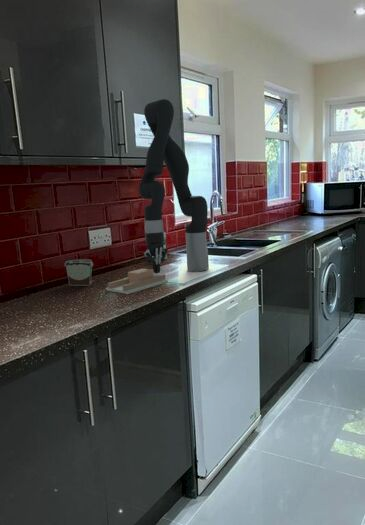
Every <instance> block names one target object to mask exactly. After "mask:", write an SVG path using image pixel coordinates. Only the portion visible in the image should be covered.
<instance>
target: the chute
mask: <svg viewBox="0 0 365 525" xmlns="http://www.w3.org/2000/svg"><path fill="white" fill-rule="evenodd" d="M168 280H169V279H166V274H165V273H162V274H161V273H160V274H158V275H155V276H154V275H153V277H150V278H147V279H143V280H140V281H136V282H133V283H129V282H128V277H125V278H121V279H117V280H115V281H111V282H107V287H106V289H105V290H106V291H109V292H114V293H120V294H126V295H129V294H133V293H137V292H139V291H143V290H146V289H149V288H152V287H157V286H159V285H162V284H166V283H168Z"/></svg>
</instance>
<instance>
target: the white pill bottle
mask: <svg viewBox="0 0 365 525" xmlns="http://www.w3.org/2000/svg"><path fill="white" fill-rule="evenodd" d="M163 245H164V248H165V249H168V248H167V234H166V231H164V242H163ZM158 256H159V255H158ZM161 258H162V257H161ZM167 259H168V252H167V253H166V256H165V258H164V260H167Z"/></svg>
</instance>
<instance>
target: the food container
mask: <svg viewBox="0 0 365 525" xmlns="http://www.w3.org/2000/svg"><path fill="white" fill-rule="evenodd" d="M93 266H94V263H93V261H92V259H88V258H84V259H83V258H80V259H79V258H78V259H71V260H66V261H65V262H64V267H66V268H65V270H66V274H67V279H68V285H69V286H78V287H79V286H83V287H86V286H87V287H88V286H92V285H93V284H92V281H93V279H92V277H93V276H92V273H93V271H92V269H93Z"/></svg>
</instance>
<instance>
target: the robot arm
mask: <svg viewBox="0 0 365 525" xmlns="http://www.w3.org/2000/svg"><path fill="white" fill-rule="evenodd" d="M174 109H175V108H174V106H173V103H172V102H171V101H170V100H169V99H167V98H163V99H157V100H155V101H152V102H149V103H147V104H146V105H145V107H144V109H143V110H144V119H145V120H146V123H147V126H148V127H149V129H150V132H151V133H152V135H153V139H152V141H151V143H150V145H149V147H148V150H147V153H146V160H145V170H144V172H143V174H142V177H141V179H140V183H139V187H138V192H139V195H140V197H141V198H142V199H144V200H151V203H150V204H148V205H146V206H145V207H144V234H145V238H144V239H145V243H146V245H147V246H146V250H145V252H144V251H143V252H142V255H143V257H144V258H145V260H146V261H147V262H148V263H149V264H152V270H153V274H161V263H162V262H164V260H165V259H164V258H165V256H166V253H167V254H168V248H167V249H165V248H164V245H163V242H164V232H165V231H164V222H163V211H162V210H163V205H164V200H165V196H166V195H165V194H166V188H165V185H164V184H163V182H161V181H160V180H155V179H156V178H159V177H160V176H162V174H163V172H164V165H165V167H166V169H167V171H168V174H169V177H170V179H171V182H172V184H173V187H174V190H175V193H176V197H177V201H178V204H179V208H180V210H181V213H182V214H183V215H184V216H185V217H190V218H191V222H190V223H189V224H187V225H186V226H185V227H184V228H185V247H186V248H185V249H186V270H187V271H188V272H204V270H205V271H207V270H208V269H210V268H209V267H210V266H209V263H210V262H209V249H208V246H207V245H208V244H207V243H208V242H207V227H208V213H209V212H208V207H209V206H208V202H207V200H206V198H205V197H204V196H202V195H192V192H191V190H190V187H189V182H188V181H189V173H190V165H189V162H188V160H187V159H188V158H187V156H186V154H185V151H184V150H183V148H182V147H181V146H180V145H179V144H178V142H176V140H175V139H173V137H172V136H171V135H170V133H171V128H172V125H173V121H174V116H175V110H174ZM158 255H159V256H158ZM161 257H162V258H161Z"/></svg>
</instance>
